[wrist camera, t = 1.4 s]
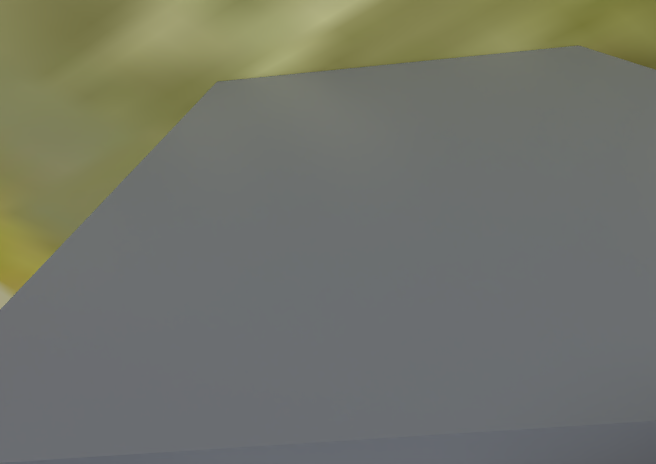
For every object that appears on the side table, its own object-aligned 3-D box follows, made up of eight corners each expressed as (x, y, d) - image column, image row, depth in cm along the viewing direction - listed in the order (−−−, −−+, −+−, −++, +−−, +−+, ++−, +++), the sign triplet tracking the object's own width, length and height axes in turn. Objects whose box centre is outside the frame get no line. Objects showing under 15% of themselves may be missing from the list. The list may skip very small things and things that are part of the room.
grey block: (578, 45, 10) (1575, 360, 2) (536, 329, 13) (828, 835, 6) (217, 81, 10) (-157, 473, 2) (271, 348, 14) (197, 850, 6)
